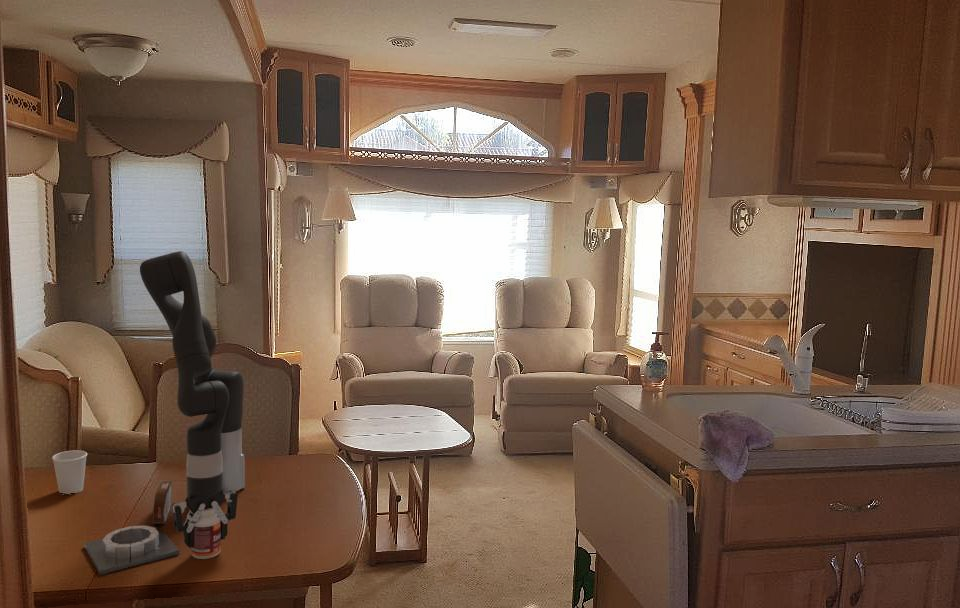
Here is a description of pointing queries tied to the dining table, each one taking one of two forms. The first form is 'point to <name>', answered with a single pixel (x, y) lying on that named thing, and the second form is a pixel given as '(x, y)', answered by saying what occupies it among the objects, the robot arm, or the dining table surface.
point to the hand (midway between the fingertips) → (206, 542)
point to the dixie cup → (70, 470)
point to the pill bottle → (207, 535)
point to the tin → (162, 502)
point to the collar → (130, 548)
